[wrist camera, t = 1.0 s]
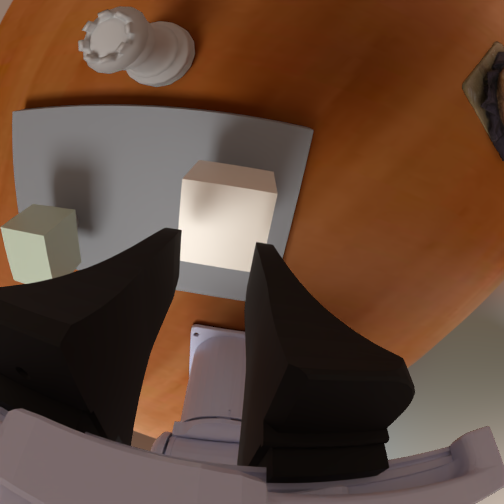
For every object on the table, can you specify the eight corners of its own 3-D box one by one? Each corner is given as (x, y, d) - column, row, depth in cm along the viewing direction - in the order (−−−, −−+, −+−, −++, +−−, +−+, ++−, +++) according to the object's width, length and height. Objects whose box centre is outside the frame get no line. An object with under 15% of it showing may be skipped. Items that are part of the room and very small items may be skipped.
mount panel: (269, 292, 24) (270, 327, 20) (35, 249, 22) (12, 272, 19) (309, 127, 17) (322, 135, 14) (24, 109, 16) (-9, 117, 12)
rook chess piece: (119, 57, 15) (45, 48, 8) (168, 12, 13) (116, -28, 7) (158, 100, 17) (96, 108, 10) (211, 55, 15) (178, 29, 8)
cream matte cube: (259, 237, 17) (259, 273, 14) (191, 226, 17) (176, 260, 14) (273, 171, 15) (277, 193, 12) (199, 159, 15) (182, 178, 12)
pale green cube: (81, 261, 19) (55, 292, 15) (40, 252, 18) (14, 279, 15) (75, 209, 17) (43, 235, 13) (33, 203, 16) (0, 227, 13)
